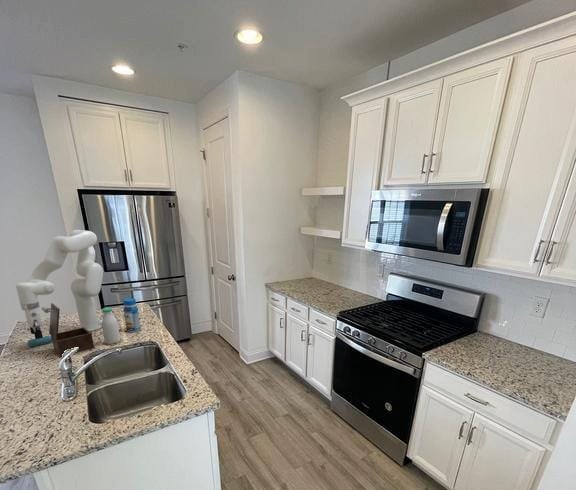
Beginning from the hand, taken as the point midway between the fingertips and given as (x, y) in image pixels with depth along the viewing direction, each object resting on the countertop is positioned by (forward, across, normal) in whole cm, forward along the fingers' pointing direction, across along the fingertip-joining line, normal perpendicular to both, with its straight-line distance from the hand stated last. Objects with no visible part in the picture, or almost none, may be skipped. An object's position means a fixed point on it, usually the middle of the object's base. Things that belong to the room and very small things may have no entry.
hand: (37, 335), depth 169 cm
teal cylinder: (+5, 0, -1) cm, 5 cm away
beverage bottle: (+4, -13, -46) cm, 48 cm away
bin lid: (-12, -19, -6) cm, 23 cm away
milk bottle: (+5, -23, -30) cm, 38 cm away
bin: (+5, -19, -12) cm, 23 cm away
